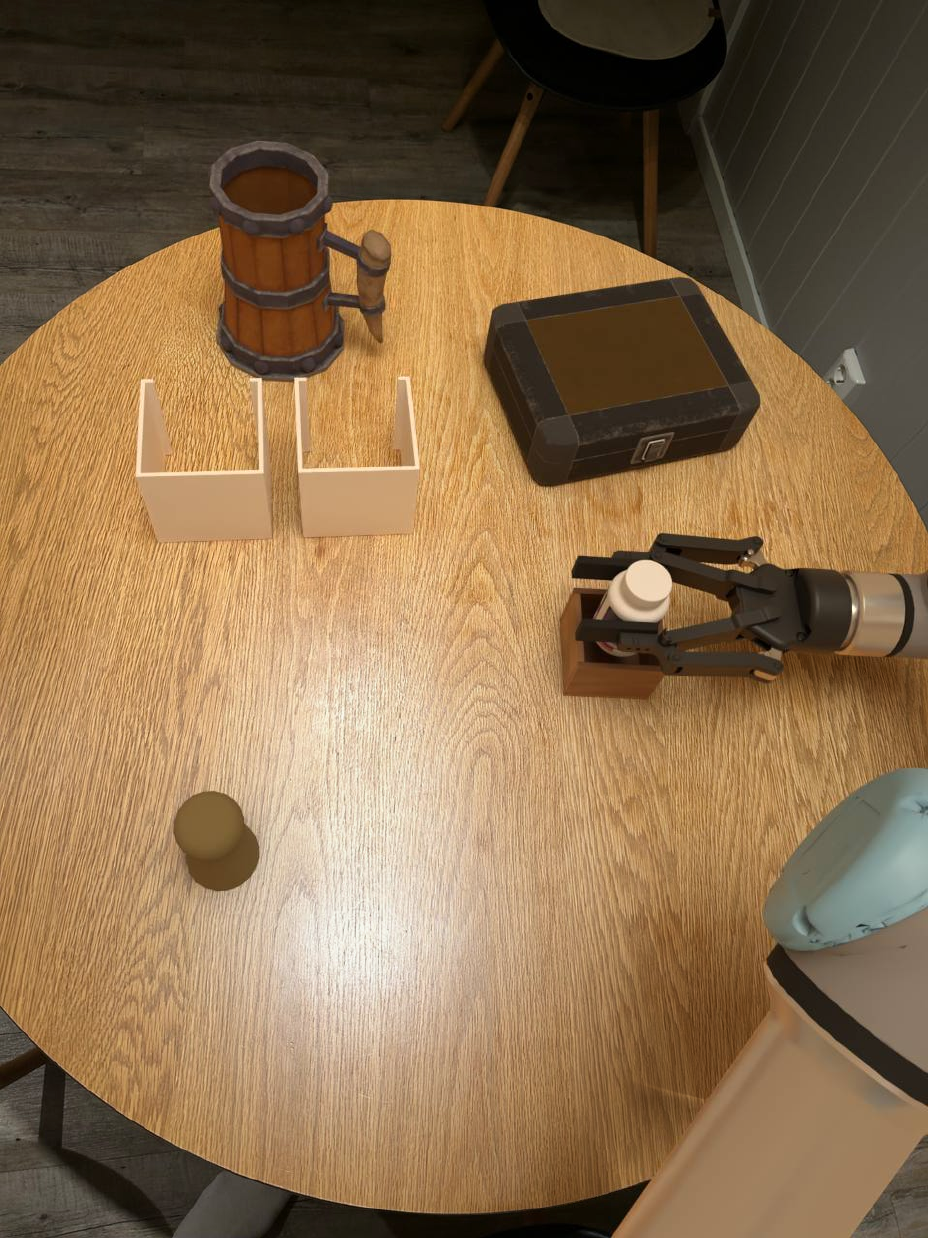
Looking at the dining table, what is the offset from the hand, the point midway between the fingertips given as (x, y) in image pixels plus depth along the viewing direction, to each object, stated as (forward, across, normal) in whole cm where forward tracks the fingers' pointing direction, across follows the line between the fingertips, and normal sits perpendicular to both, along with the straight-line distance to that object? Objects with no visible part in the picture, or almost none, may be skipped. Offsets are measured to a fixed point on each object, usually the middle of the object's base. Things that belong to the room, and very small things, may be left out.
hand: (577, 597), depth 80 cm
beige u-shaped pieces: (+27, +17, -12) cm, 34 cm away
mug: (+27, +38, -12) cm, 48 cm away
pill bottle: (-5, 0, -6) cm, 8 cm away
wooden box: (-5, 0, -12) cm, 13 cm away
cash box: (-8, +32, -12) cm, 35 cm away
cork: (+29, -20, -12) cm, 37 cm away
